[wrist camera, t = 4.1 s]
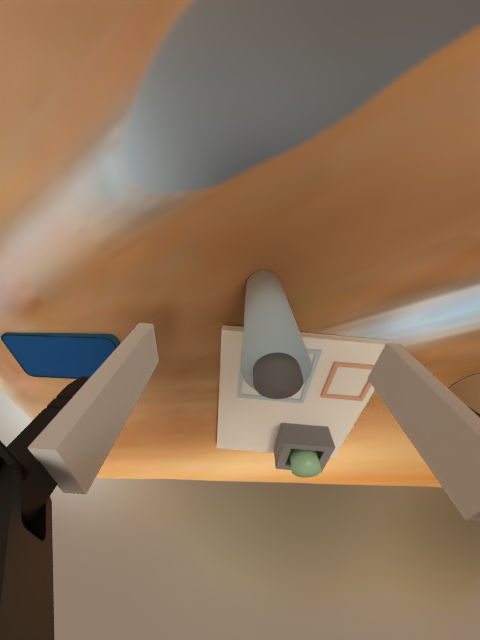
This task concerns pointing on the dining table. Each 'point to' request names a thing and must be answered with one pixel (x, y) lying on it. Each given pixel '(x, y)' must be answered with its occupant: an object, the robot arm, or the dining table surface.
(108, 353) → the smartphone
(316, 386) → the board
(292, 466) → the button
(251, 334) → the marker
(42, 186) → the dining table surface
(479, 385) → the coffee cup
